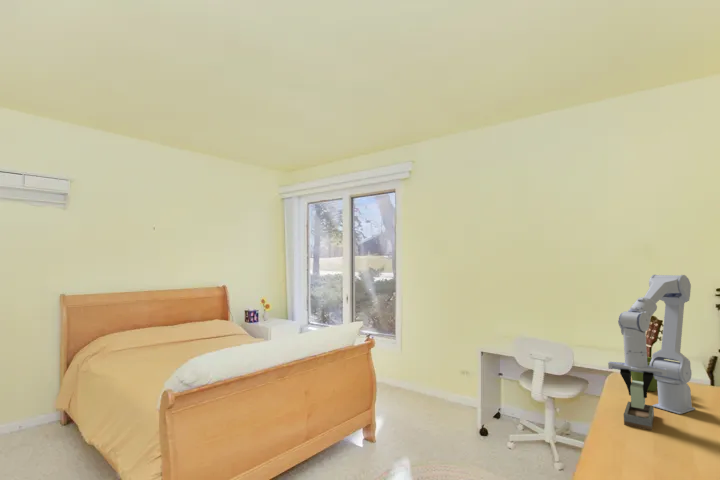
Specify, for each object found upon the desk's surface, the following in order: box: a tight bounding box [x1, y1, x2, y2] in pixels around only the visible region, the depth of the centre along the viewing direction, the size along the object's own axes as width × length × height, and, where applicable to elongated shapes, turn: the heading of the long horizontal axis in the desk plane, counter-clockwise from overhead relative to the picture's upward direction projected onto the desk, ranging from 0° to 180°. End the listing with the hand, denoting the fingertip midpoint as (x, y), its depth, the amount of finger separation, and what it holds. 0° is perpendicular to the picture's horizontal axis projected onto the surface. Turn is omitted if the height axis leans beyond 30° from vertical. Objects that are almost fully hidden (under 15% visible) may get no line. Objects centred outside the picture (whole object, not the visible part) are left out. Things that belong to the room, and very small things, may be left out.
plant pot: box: [631, 356, 658, 392], centre depth 148 cm, size 12×12×11 cm
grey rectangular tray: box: [623, 401, 655, 431], centre depth 118 cm, size 14×7×3 cm, turn 141°
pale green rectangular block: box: [630, 379, 646, 409], centre depth 119 cm, size 8×3×6 cm, turn 141°
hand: (638, 395), depth 119 cm, fingers closed on pale green rectangular block, 3 cm apart
